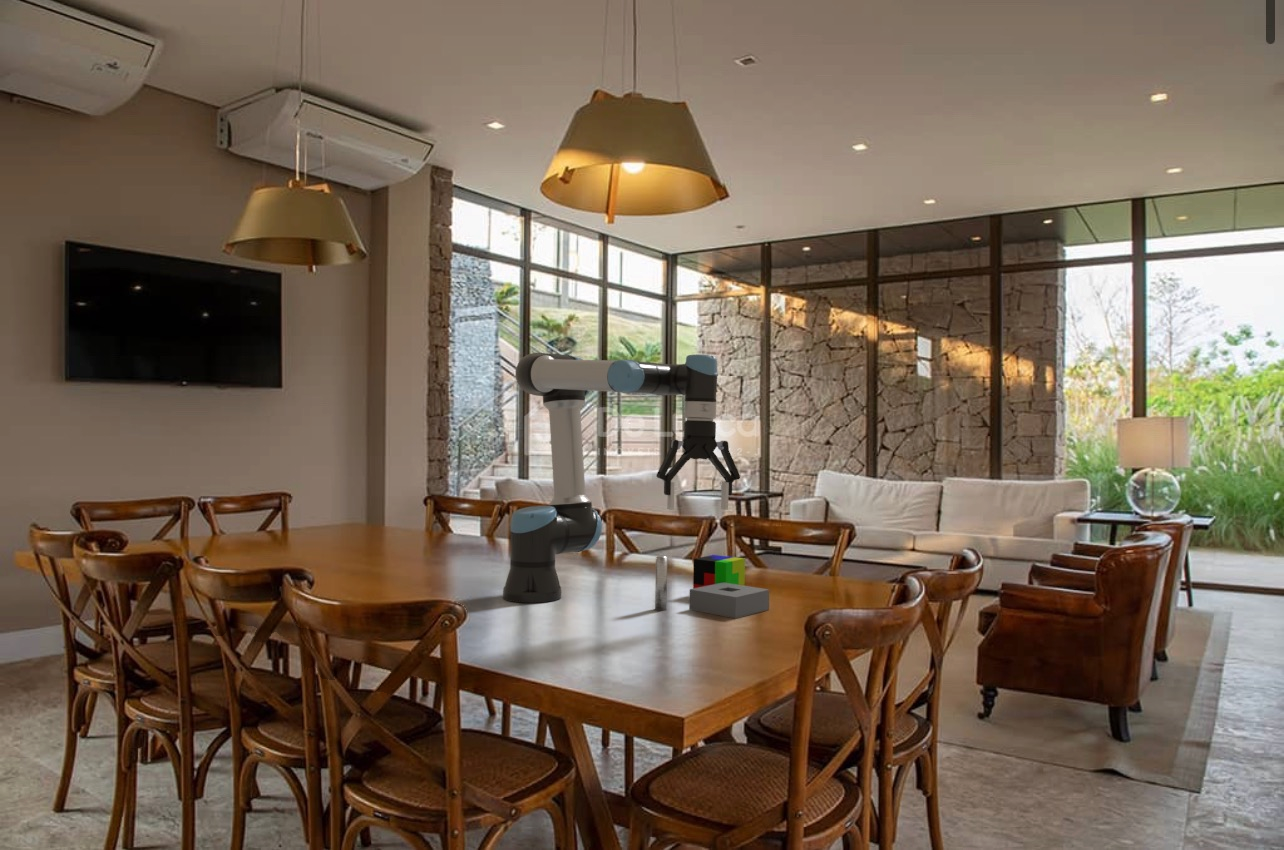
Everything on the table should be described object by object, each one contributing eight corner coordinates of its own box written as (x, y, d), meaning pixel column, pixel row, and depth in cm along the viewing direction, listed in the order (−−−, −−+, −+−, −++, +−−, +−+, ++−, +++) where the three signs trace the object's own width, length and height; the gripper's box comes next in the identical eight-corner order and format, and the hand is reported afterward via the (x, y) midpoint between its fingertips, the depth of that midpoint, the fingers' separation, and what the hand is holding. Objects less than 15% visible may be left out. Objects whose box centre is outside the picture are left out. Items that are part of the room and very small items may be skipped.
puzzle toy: (712, 591, 239) (713, 554, 239) (744, 595, 233) (744, 558, 234) (693, 596, 231) (693, 558, 231) (725, 601, 225) (726, 562, 225)
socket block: (689, 609, 213) (689, 589, 213) (723, 601, 224) (723, 582, 224) (735, 618, 204) (735, 597, 204) (769, 609, 214) (769, 589, 214)
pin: (652, 609, 213) (653, 556, 213) (660, 607, 215) (661, 555, 215) (661, 611, 211) (662, 557, 211) (668, 609, 213) (669, 556, 213)
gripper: (654, 418, 199) (651, 510, 199) (755, 421, 206) (752, 510, 206) (645, 418, 206) (643, 507, 206) (743, 421, 213) (740, 507, 213)
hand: (697, 509), depth 206 cm, fingers open, 13 cm apart
